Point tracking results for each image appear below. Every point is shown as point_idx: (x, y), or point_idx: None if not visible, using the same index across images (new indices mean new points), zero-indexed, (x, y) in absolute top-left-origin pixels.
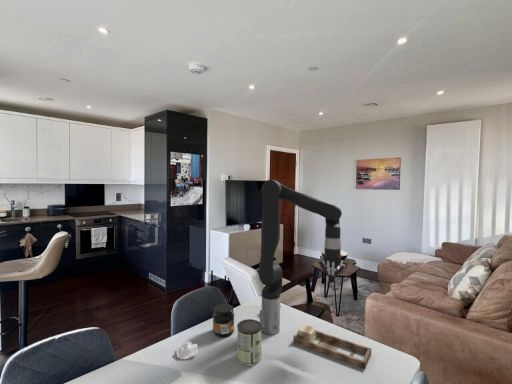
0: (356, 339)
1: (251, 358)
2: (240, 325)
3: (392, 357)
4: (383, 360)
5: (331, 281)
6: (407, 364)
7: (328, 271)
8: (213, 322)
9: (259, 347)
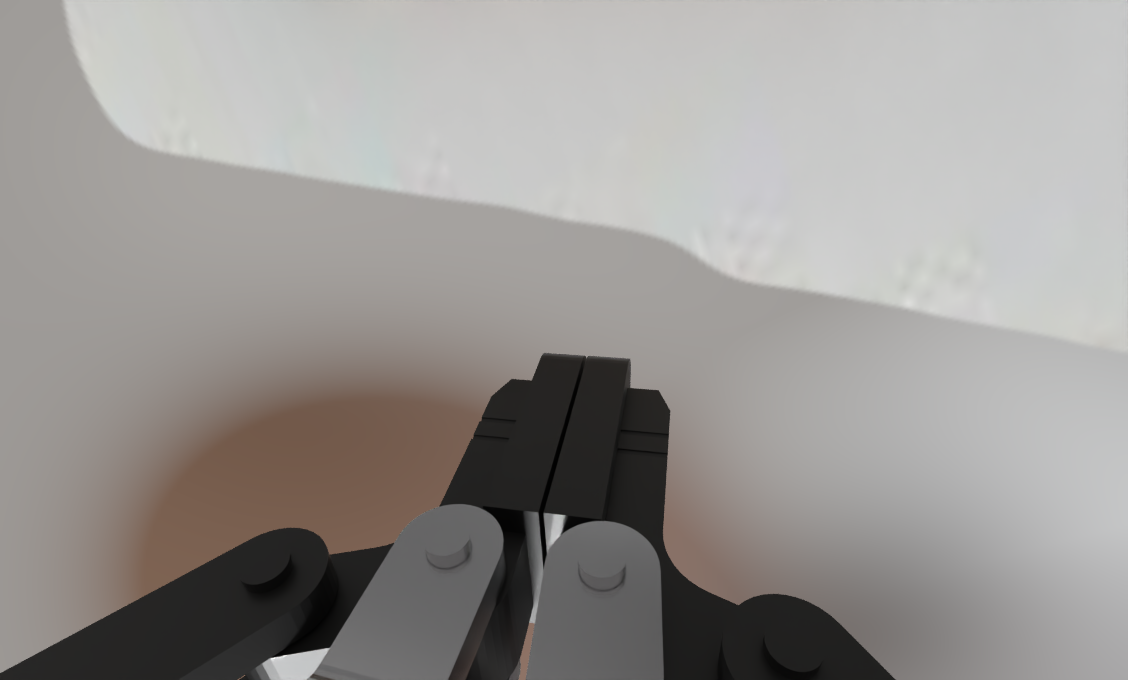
0: (473, 174)
1: None
2: None
3: (212, 95)
4: (227, 12)
5: (564, 370)
6: (123, 73)
7: (638, 662)
8: None
9: None
